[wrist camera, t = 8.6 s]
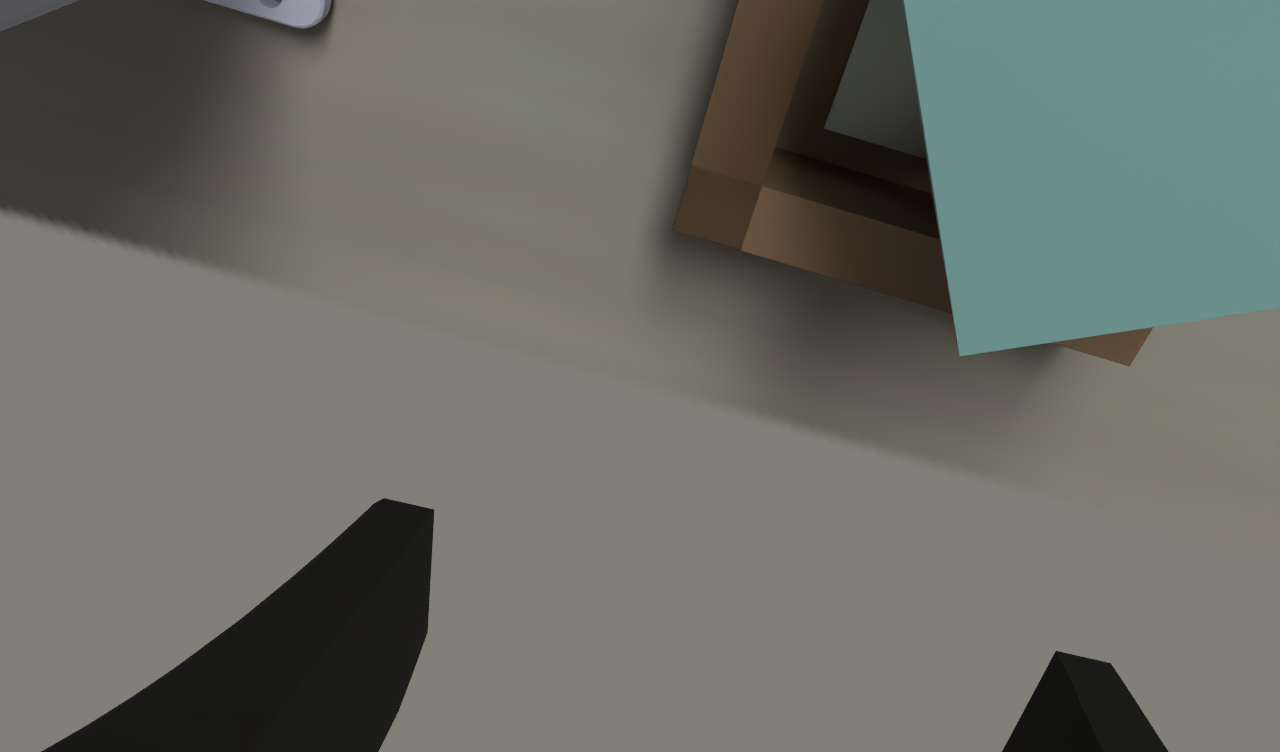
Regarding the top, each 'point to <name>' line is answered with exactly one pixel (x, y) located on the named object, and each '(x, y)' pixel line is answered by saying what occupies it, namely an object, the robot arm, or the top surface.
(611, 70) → the top surface
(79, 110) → the top surface
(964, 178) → the block
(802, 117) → the tray
